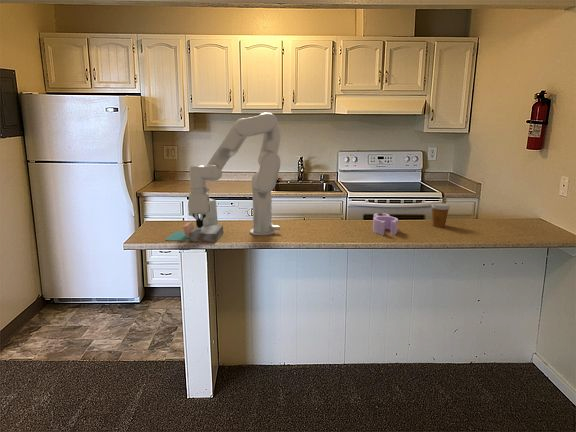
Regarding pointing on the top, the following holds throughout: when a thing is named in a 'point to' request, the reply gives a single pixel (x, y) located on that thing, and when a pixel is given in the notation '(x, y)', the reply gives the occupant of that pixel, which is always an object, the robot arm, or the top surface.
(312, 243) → the top surface
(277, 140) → the robot arm
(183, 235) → the mat
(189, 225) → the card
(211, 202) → the skincare box
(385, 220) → the clip
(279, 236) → the top surface
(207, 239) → the grey flat block
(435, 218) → the disposable coffee cup
